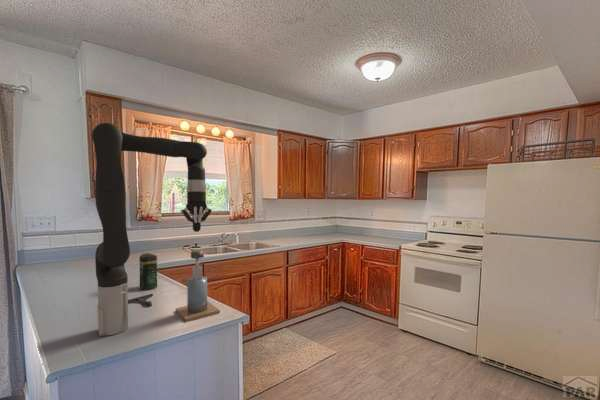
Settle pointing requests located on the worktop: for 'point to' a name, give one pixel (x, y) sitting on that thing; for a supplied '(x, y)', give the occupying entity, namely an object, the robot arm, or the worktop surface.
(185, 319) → the soap dispenser
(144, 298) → the bracket
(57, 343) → the worktop surface
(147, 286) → the coffee jar
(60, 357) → the worktop surface
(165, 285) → the worktop surface
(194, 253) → the grey dome cap
